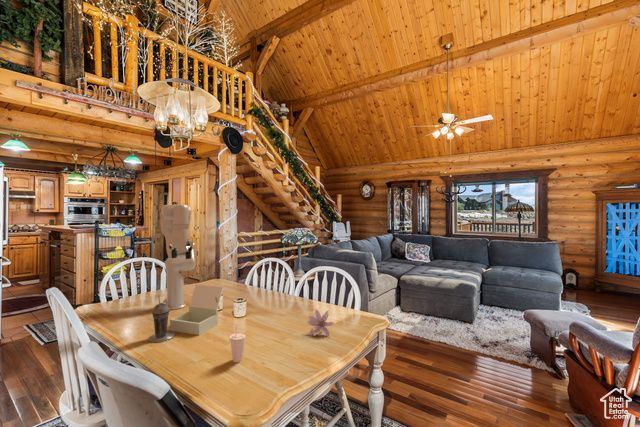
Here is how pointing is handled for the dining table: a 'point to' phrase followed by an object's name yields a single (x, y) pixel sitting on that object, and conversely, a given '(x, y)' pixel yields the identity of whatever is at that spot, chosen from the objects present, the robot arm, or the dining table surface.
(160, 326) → the beverage cup
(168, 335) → the coaster
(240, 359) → the smoothie
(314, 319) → the water lily
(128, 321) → the dining table surface
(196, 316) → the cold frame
